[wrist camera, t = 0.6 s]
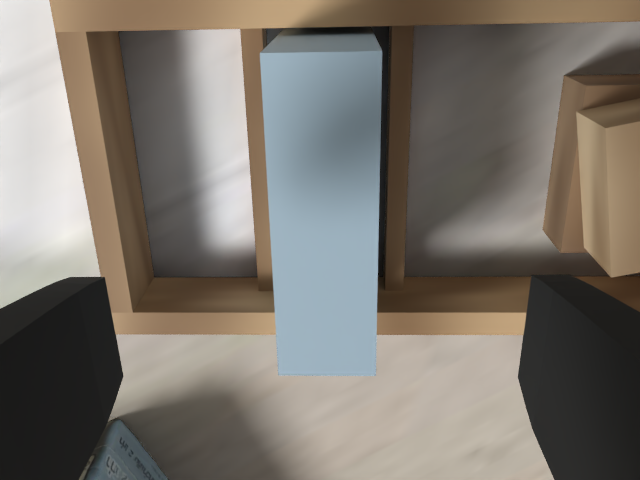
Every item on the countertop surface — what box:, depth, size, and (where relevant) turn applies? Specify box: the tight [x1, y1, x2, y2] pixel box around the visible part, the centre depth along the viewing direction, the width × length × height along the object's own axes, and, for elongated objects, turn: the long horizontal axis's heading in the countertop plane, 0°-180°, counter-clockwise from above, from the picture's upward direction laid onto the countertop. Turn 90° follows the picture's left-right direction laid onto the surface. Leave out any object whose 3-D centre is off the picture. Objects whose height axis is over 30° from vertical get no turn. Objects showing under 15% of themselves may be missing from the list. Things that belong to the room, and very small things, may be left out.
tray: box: [49, 0, 640, 335], centre depth 18 cm, size 20×10×2 cm, turn 91°
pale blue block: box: [260, 26, 382, 376], centre depth 17 cm, size 2×8×6 cm, turn 1°
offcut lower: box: [543, 74, 640, 253], centre depth 18 cm, size 4×5×2 cm
